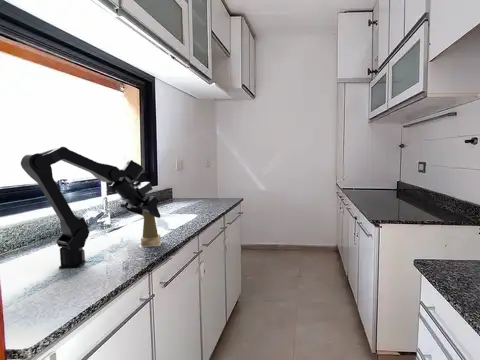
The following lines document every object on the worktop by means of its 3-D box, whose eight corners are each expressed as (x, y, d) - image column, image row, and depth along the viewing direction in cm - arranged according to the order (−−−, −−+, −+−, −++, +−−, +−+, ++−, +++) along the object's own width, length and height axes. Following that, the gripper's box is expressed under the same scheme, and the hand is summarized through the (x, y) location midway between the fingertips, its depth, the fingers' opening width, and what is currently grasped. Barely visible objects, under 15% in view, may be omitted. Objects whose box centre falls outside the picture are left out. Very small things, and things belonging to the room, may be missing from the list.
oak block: (141, 246, 142) (140, 238, 142) (144, 242, 149) (144, 235, 148) (158, 245, 143) (157, 237, 142) (160, 241, 149) (160, 234, 149)
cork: (149, 238, 141) (147, 210, 140) (139, 237, 145) (137, 209, 144) (161, 235, 146) (159, 208, 145) (151, 234, 150) (149, 207, 149)
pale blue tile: (127, 250, 140) (127, 248, 140) (133, 243, 151) (133, 241, 151) (159, 248, 140) (159, 246, 140) (163, 241, 151) (163, 240, 151)
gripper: (154, 175, 135) (178, 201, 144) (125, 175, 147) (149, 199, 156) (137, 198, 129) (163, 224, 139) (108, 196, 141) (134, 220, 150)
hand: (152, 216), depth 146 cm, fingers open, 9 cm apart
